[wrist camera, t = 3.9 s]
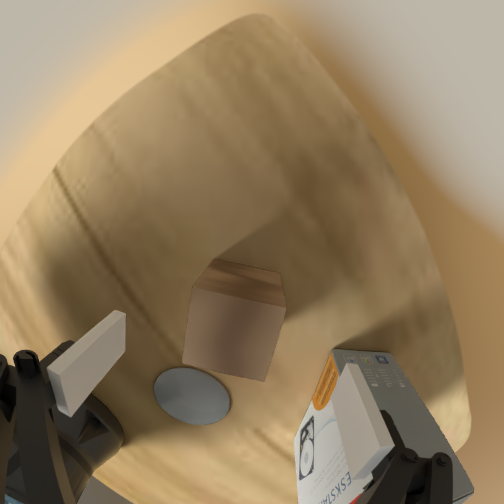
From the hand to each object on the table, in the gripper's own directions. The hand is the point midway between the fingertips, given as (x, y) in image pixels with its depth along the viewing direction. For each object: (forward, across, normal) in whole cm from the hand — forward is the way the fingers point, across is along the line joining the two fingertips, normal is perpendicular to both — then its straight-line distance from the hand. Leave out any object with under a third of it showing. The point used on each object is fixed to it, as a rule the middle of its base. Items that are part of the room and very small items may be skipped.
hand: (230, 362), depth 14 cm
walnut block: (+11, 0, 0) cm, 11 cm away
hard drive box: (+11, +14, -11) cm, 21 cm away
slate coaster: (+11, -4, -14) cm, 18 cm away
